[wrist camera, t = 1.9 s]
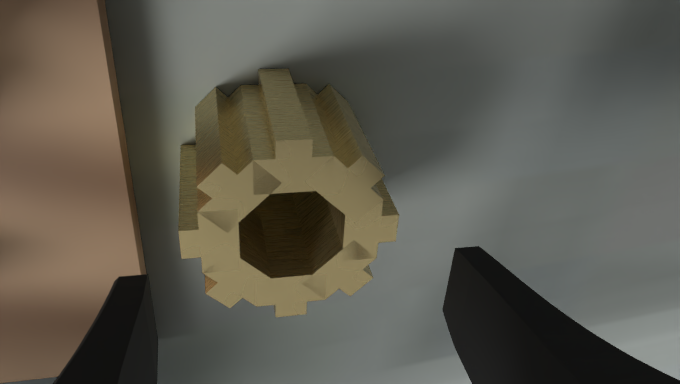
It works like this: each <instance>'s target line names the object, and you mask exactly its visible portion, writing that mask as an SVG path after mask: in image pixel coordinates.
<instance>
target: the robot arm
mask: <svg viewBox="0 0 680 384" xmlns="http://www.w3.org/2000/svg"><path fill="white" fill-rule="evenodd" d="M443 313H444V316H445V319H446V322H447V326H448V329H449V332H450V335H451V338H452V341H453V343H454V346H455V349H456V351H457V353H458V355H459V357H460V359H461V361H462V364H463V366H464V368H465V370H466V372H467V374H468V376H469V378H470V380H471V382H472V384H680V380H677V379H675V378H673V377H671V376H669V375H667V374H665V373H663V372H661V371H659V370H657V369H655V368H653V367H651V366H649V365H647V364H645V363H643V362H641V361H639V360H637V359H636V358H634V357H632V356H630V355H628V354H627V353H625V352H623V351H621V350H620V349H618V348H616V347H615V346H613V345H611V344H610V343H608V342H606V341H605V340H603V339H601V338H600V337H598V336H596V335H595V334H593V333H592V332H590V331H589V330H587V329H586V328H584V327H583V326H581V325H580V324H578V323H577V322H575V321H574V320H573V319H571V318H570V317H568V316H567V315H565V314H564V313H563V312H561V311H560V310H558V309H557V308H556V307H554V306H553V305H552V304H550V303H549V302H548V301H546V300H545V299H544V298H542V297H541V296H540V295H539V294H537V293H536V292H535V291H534V290H532V289H531V288H530V287H528V286H527V285H526V284H525V283H523V282H522V281H521V280H520V279H519V278H517V277H516V276H515V275H514V274H512V273H511V272H510V271H509V270H508V269H506V268H505V267H504V266H503V265H501V264H500V263H499V262H498V261H497V260H495V259H494V258H493V257H492V256H490V255H489V254H488V253H487V252H485V251H484V250H483V249H482V248H480V247H479V246H476V247H464V248H455V252H454V257H453V261H452V266H451V271H450V276H449V281H448V286H447V291H446V295H445V300H444V305H443ZM157 365H158V337H157V330H156V324H155V317H154V311H153V304H152V298H151V291H150V284H149V278H148V274H144V275H132V276H120V277H118V278H117V279H116V280H115V281H114V283H113V285H112V288H111V290H110V292H109V294H108V296H107V298H106V300H105V302H104V304H103V306H102V307H101V309H100V311H99V313H98V315H97V316H96V318H95V320H94V322H93V324H92V325H91V327H90V328H89V330H88V332H87V333H86V335H85V337H84V338H83V340H82V342H81V343H80V345H79V346H78V348H77V350H76V351H75V353H74V354H73V356H72V357H71V359H70V360H69V361H68V363H67V364H66V366H65V367H64V369H63V370H62V371H61V373H60V374H59V376H58V377H57V379H56V380H55V382H54V383H53V384H157Z"/></svg>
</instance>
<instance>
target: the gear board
mask: <svg viewBox="0 0 680 384" xmlns="http://www.w3.org/2000/svg"><path fill="white" fill-rule="evenodd" d="M144 274H146V267H145V261H144V254H143V248H142V241H141V235H140V228H139V222H138V215H137V209H136V202H135V196H134V189H133V183H132V176H131V170H130V163H129V156H128V150H127V143H126V137H125V130H124V124H123V117H122V111H121V104H120V98H119V91H118V85H117V78H116V72H115V65H114V59H113V52H112V46H111V39H110V33H109V26H108V20H107V13H106V7H105V0H0V383H7V382H16V381H24V380H33V379H42V378H50V377H58V376H59V374H60V373H61V371H62V370H63V369H64V367H65V366H66V364H67V363H68V361H69V360H70V359H71V357H72V356H73V354H74V353H75V351H76V350H77V348H78V346H79V345H80V343H81V342H82V340H83V338H84V337H85V335H86V333H87V332H88V330H89V328H90V327H91V325H92V324H93V322H94V320H95V318H96V316H97V315H98V313H99V311H100V309H101V307H102V306H103V304H104V302H105V300H106V298H107V296H108V294H109V292H110V290H111V288H112V285H113V283H114V281H115V280H116V279H117V278H118V277H120V276H132V275H144Z"/></svg>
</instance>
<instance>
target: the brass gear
mask: <svg viewBox="0 0 680 384" xmlns="http://www.w3.org/2000/svg"><path fill="white" fill-rule="evenodd" d="M258 81H259V85H240V86H239V87H238V88H237V89H236V90H235V91H234V92H233V93H232V94H231V95H230V96H229V97H227V96H226V95H224V94H223V93H222V92H221V91H220V90H218V89H217V88H216V87H215V88H214V89H213V90H212V91H211V92H210V93H209V94H208V95H207V96H206V97H205V98H204V99H203V100H202V101H201V102H200V103H199V104H198V105H197V106H196V107H195V125H196V145H181V157H180V194H179V230H178V231H179V241H180V250H181V259H187V258H199V257H201V261H202V273H203V274H205V292H206V294H207V295H209V296H210V297H212V298H214V299H215V300H217V301H219V302H220V303H222V304H224V305H225V306H227V307H229V308H231V307H232V306H234V305H235V304H236V303H237V302H238V301H239V300H241V299H242V298H244V299H245V300H247V301H248V302H250V303H252V304H253V305H255V306H256V307H257V306H267V305H274V310H275V316H276V317H284V316H293V315H303V314H306V311H307V301H317V300H326V299H327V298H328V297H329V296H330V295H332V294H333V293H334V292H335V291H337V290H338V289H341V290H342V291H343V292H345V293H346V294H348V295H349V296H351V295H353V294H354V293H355V292H356V291H358V290H359V289H360V288H361V287H363V286H364V285H365V284H366V283H367V282H369V281H370V280H371V279H372V278H373V276H372V273H371V271H370V268H369V265H368V264H370V263H371V262H372V261H373V260H375V259H376V258H377V249H378V243H381V242H393V241H396V234H397V227H398V219H399V214H398V212H397V210H396V208H395V206H394V203H393V201H392V199H391V197H390V195H389V193H388V191H387V189H386V187H385V185H384V183H383V181H382V178H383V177H384V176H385V175H384V173H383V171H382V169H381V167H380V165H379V163H378V161H377V159H376V157H375V155H374V153H373V151H372V149H371V147H370V145H369V143H368V141H367V139H366V137H365V135H364V133H363V131H362V129H361V127H360V125H359V123H358V121H357V119H356V117H355V115H354V113H353V111H352V109H351V107H350V105H349V103H348V102H347V101H346V100H345V99H344V98H343V97H342V96H341V95H340V94H339V93H338V92H337V91H336V90H335V89H334V88H333V87H332V86H331V85H330V84H329V85H327V86H326V87H325V88H324V89H323V90H322V91H321V92H320V93H319V94H318V95H317V94H316V93H315V92H314V91H313V90H312V89H311V88H310V87H309V86H308V85H307V84H293V81H292V78H291V75H290V72H289V69H258Z"/></svg>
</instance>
